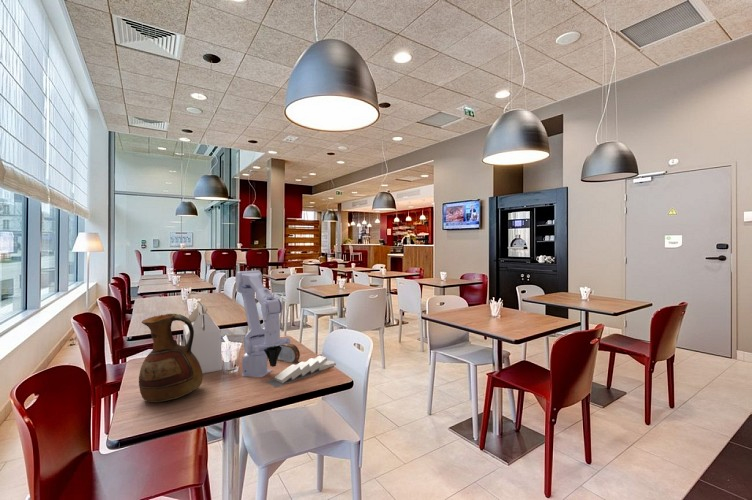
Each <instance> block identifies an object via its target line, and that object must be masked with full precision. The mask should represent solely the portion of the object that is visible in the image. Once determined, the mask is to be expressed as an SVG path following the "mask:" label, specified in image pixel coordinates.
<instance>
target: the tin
mask: <svg viewBox="0 0 752 500" xmlns="http://www.w3.org/2000/svg"><path fill="white" fill-rule="evenodd" d="M280 347H282V350H281V352H280V354H279V356H278V359H277V361H280V362H287V363H292V364H294V363H295V362H298V361H299V360H300V357H301V355H300V350H299V348H298V346H296V345H295V344H293V343H290V344H284V345H280Z"/></svg>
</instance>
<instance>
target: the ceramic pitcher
mask: <svg viewBox="0 0 752 500" xmlns="http://www.w3.org/2000/svg"><path fill="white" fill-rule="evenodd" d="M188 318H189V317H187V316H185V315H182V314H178V313H165V314H159V315H154V316H152V317H148V318H146V319H143V320H142V321H141V324H143V325H144V326H146V327H147V328H148V329H149V331H150V337H151V339H152V341H153V345H152V350H151V351H150V352H149V353H148V354H147V355H146V357H145V358H144V360H143V363H142V365H141V367H140V370H139V376H138V387H139V388H138V389H139V391H140V392H139V393H140V396H141V397H142V399H143V400H144V401H145V402H150V403H160V402H166V401H170V400H175V399H177V398H178V399H179V398H181V397H183V396H185V395H187V394H189V393H191V392H193V391H195V390H197V389H198V388H199V387H201V386H202V383H203V379H204V378H203V377H204V376H203V374H202V369H201V366H200V364H199V361H198V360H197V358H196V357H195V355H194V354H193V353H192V352H191V347H192V342H193V336H194V329H193V326H192V323H191V321H190V320H189V319H188ZM175 321H179V322H183V323H184V324H185V323H186V324H187V326H188V328H189V331H190V337H189V340H188V343H187V344H186V345H185V346H184V345H182V344H181V345H180V344H178V343H177V342H176V341H175V339H174V337H173V333H172V332H173V331H172V324H173V322H175Z"/></svg>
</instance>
